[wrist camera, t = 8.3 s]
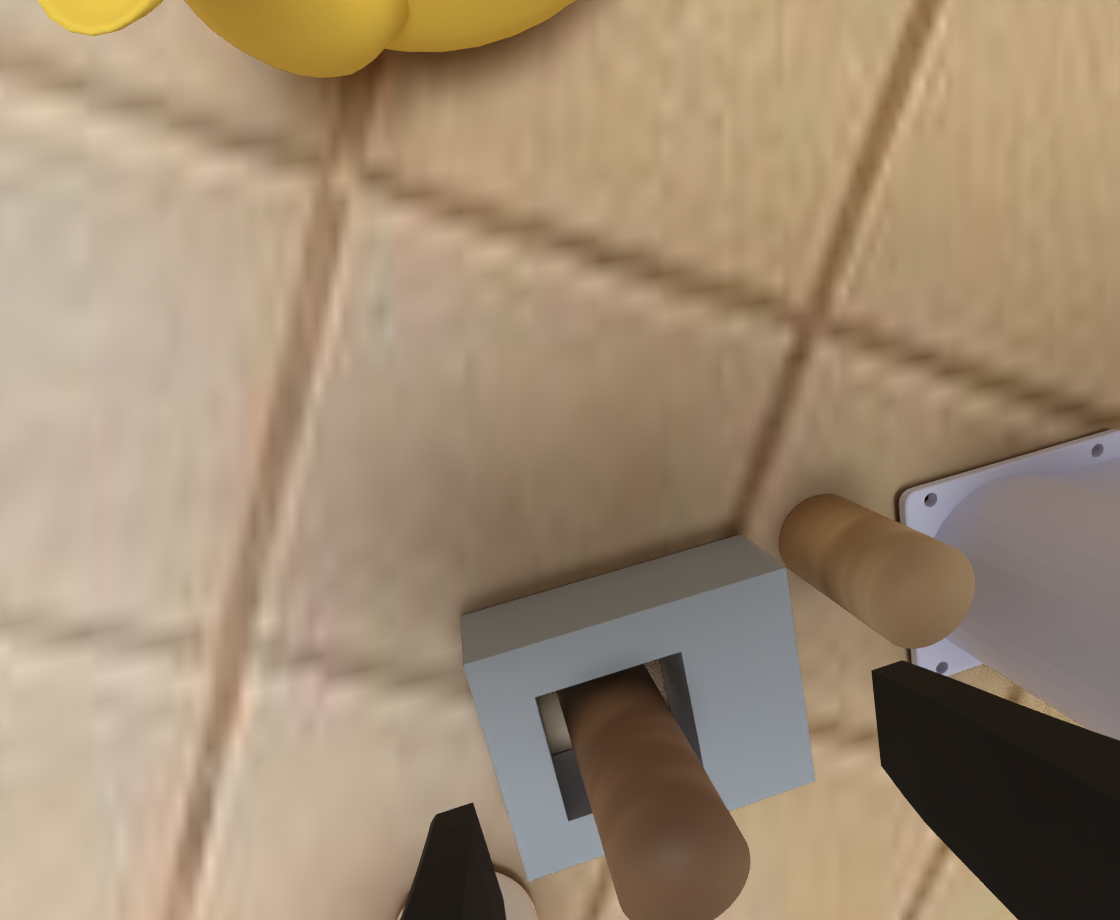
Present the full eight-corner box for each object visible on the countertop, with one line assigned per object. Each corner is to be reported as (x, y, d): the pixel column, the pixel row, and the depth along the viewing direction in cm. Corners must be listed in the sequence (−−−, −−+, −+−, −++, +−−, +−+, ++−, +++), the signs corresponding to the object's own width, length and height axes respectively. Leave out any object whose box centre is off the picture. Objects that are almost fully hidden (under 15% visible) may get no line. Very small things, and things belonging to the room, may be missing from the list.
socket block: (740, 534, 21) (786, 567, 18) (769, 724, 23) (815, 781, 20) (460, 615, 20) (463, 665, 17) (517, 808, 22) (528, 881, 19)
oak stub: (855, 484, 22) (972, 530, 17) (863, 564, 22) (977, 629, 18) (774, 507, 21) (869, 561, 16) (785, 588, 22) (879, 662, 17)
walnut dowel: (636, 627, 21) (744, 799, 14) (648, 705, 22) (755, 909, 14) (548, 649, 21) (607, 839, 13) (563, 728, 22) (627, 950, 14)
